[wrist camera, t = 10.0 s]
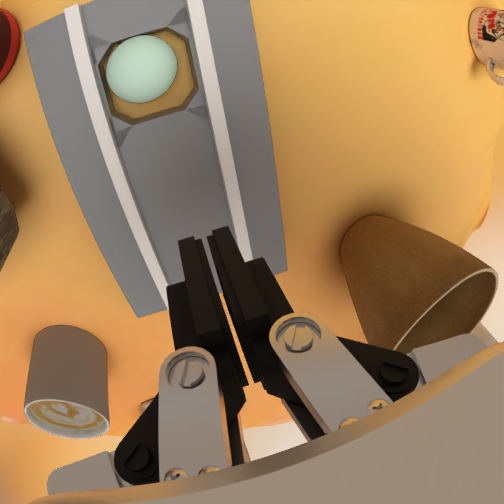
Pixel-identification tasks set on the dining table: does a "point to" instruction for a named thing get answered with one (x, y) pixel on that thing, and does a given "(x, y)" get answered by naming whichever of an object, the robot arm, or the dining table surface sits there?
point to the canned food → (8, 42)
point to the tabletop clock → (7, 227)
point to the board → (163, 140)
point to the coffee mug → (68, 384)
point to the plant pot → (413, 284)
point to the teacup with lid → (488, 39)
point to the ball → (141, 69)
